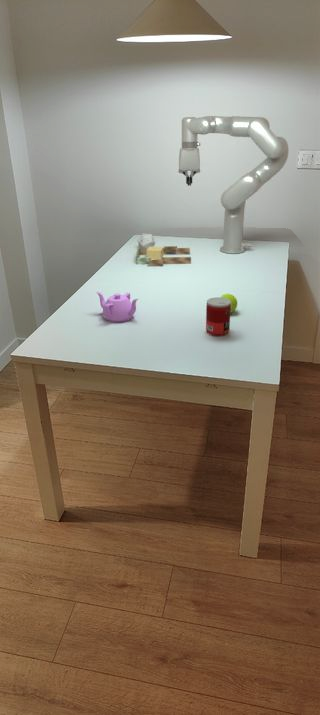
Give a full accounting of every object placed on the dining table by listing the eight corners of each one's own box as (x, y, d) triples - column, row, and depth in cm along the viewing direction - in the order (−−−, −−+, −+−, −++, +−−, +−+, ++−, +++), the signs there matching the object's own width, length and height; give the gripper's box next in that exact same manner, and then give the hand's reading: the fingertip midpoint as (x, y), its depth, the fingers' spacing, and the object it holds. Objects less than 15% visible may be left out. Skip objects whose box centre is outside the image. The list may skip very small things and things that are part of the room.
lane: (189, 251, 261) (189, 244, 259) (191, 265, 240) (191, 257, 239) (138, 252, 262) (138, 244, 260) (135, 266, 241) (135, 258, 239)
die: (138, 248, 271) (132, 236, 263) (150, 238, 272) (146, 226, 264) (146, 256, 267) (141, 245, 259) (159, 247, 268) (155, 235, 260)
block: (163, 255, 257) (163, 247, 255) (160, 259, 251) (160, 250, 249) (149, 255, 258) (149, 246, 256) (146, 259, 252) (146, 250, 250)
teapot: (139, 321, 183) (138, 298, 179) (100, 325, 181) (98, 301, 177) (134, 309, 194) (133, 287, 190) (97, 312, 192) (95, 290, 187)
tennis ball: (232, 317, 185) (233, 299, 182) (214, 314, 188) (215, 296, 185) (239, 310, 191) (240, 292, 187) (222, 307, 194) (222, 290, 190)
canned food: (228, 337, 170) (230, 306, 165) (204, 335, 172) (205, 305, 167) (230, 327, 177) (231, 297, 172) (206, 326, 178) (207, 296, 173)
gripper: (204, 144, 250) (203, 183, 258) (173, 145, 250) (174, 184, 259) (205, 145, 243) (204, 186, 252) (174, 146, 244) (174, 186, 252)
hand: (189, 185), depth 255 cm, fingers closed
